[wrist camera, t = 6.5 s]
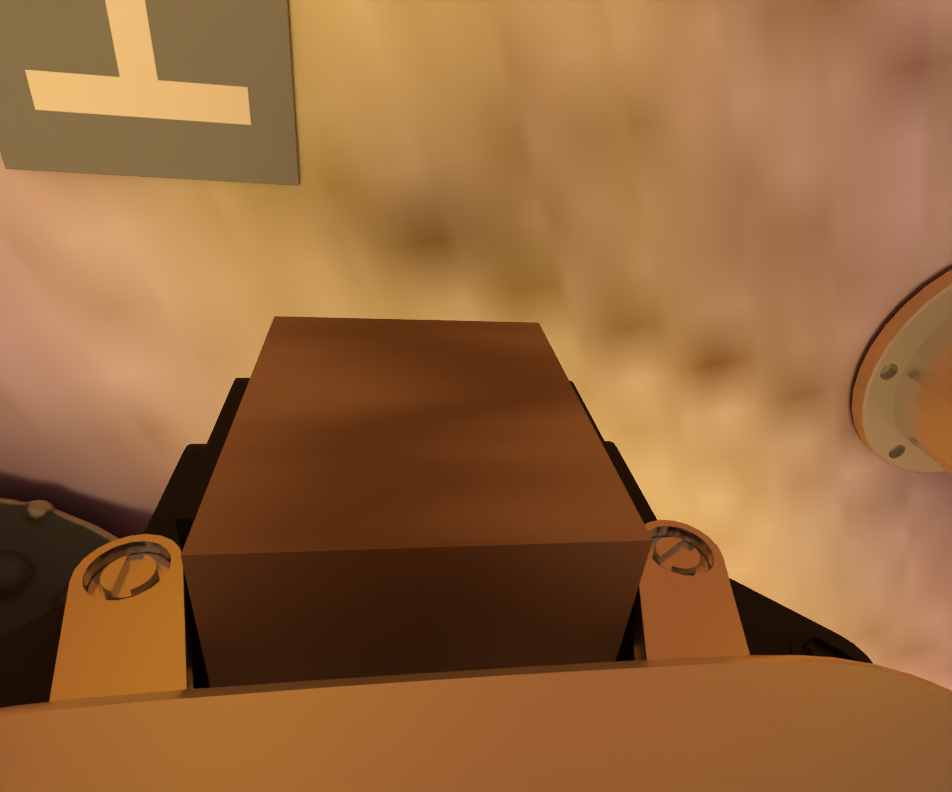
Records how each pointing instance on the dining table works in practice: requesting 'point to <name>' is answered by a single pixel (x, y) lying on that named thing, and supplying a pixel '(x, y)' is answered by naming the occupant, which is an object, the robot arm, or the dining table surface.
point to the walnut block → (410, 510)
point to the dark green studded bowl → (39, 558)
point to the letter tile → (149, 89)
